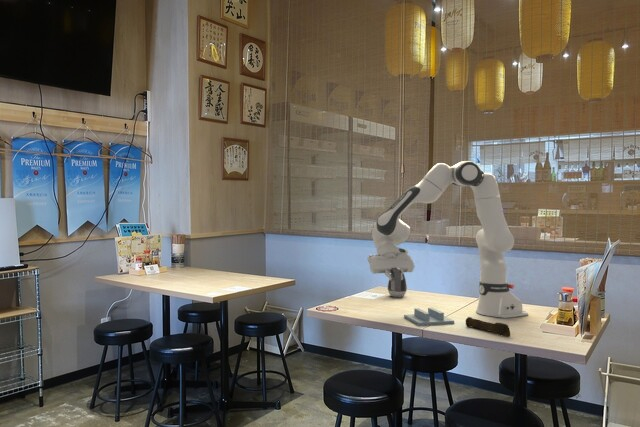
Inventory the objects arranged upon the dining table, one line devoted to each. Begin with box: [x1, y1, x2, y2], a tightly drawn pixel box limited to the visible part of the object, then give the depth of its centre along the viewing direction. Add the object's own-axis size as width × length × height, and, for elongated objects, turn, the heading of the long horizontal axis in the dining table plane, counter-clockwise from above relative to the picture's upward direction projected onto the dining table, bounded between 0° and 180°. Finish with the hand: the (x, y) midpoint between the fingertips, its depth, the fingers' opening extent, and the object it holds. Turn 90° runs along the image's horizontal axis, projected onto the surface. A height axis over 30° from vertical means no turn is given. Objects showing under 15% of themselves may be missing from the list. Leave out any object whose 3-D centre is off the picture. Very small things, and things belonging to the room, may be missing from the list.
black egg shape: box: [387, 272, 408, 298], centre depth 253 cm, size 10×10×15 cm
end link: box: [390, 268, 401, 291], centre depth 208 cm, size 3×4×10 cm
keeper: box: [404, 307, 455, 327], centre depth 201 cm, size 16×14×4 cm
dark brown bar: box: [465, 316, 511, 338], centre depth 186 cm, size 19×4×5 cm, turn 33°
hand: (396, 279), depth 207 cm, fingers closed on end link, 3 cm apart
